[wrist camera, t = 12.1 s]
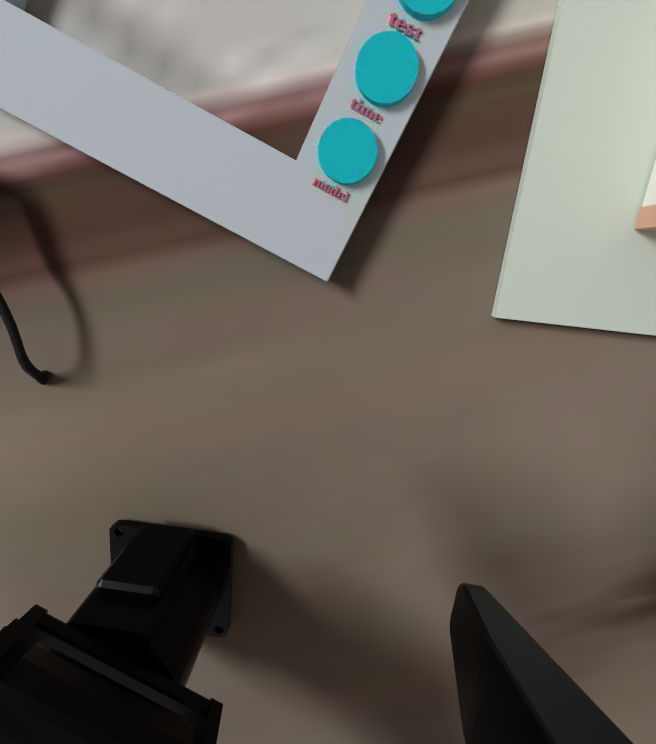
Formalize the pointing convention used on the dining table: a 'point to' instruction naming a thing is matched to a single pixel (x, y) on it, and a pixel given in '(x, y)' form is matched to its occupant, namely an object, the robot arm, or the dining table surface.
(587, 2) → the mat
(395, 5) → the electronic device
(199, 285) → the dining table surface
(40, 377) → the sunglasses
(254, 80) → the dining table surface
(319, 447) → the dining table surface
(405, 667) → the dining table surface
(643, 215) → the block
